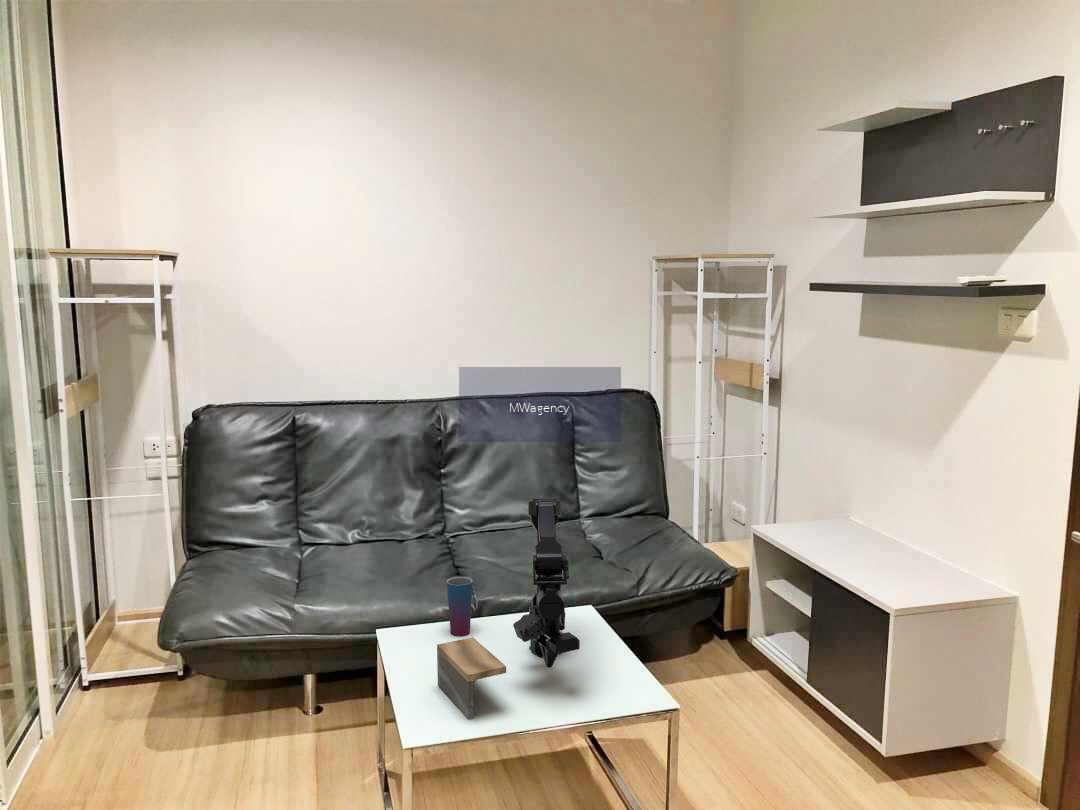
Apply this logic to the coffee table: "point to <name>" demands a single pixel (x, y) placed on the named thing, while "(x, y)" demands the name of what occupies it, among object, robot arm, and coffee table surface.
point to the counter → (464, 670)
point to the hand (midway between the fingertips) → (548, 667)
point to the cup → (459, 605)
